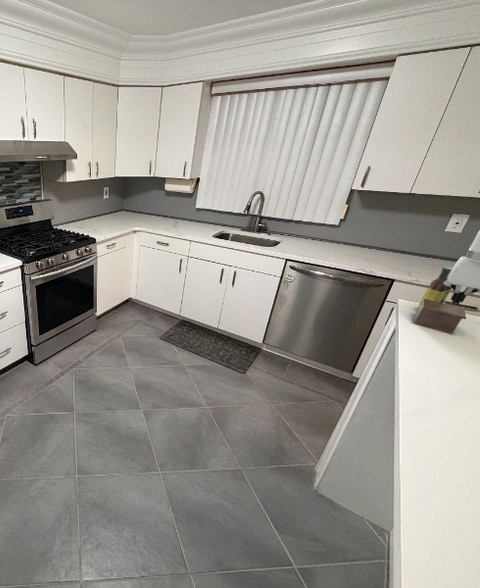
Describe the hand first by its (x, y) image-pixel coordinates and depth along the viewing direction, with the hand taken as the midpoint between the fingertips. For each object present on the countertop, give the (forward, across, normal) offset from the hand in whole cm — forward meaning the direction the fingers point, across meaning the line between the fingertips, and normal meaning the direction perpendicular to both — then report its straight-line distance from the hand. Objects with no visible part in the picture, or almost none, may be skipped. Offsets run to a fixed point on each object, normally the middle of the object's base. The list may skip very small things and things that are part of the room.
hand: (455, 302), depth 116 cm
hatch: (+4, +2, 0) cm, 4 cm away
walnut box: (+10, +3, 0) cm, 11 cm away
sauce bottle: (+11, +4, -12) cm, 17 cm away
